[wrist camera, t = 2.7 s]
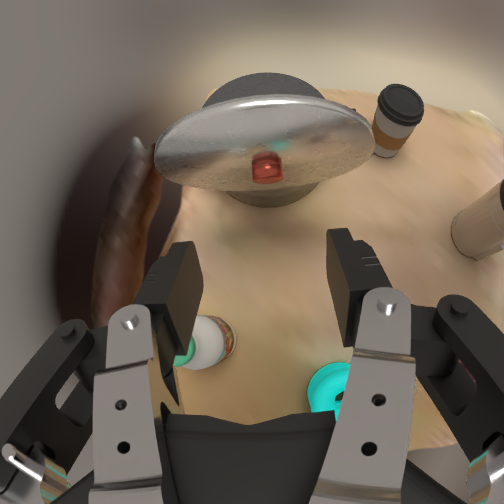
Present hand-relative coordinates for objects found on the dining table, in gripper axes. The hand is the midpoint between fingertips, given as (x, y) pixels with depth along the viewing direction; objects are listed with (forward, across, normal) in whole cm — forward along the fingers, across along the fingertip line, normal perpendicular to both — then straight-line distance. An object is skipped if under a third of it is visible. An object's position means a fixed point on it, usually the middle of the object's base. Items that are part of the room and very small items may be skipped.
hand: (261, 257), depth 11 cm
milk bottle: (+26, +12, +32) cm, 43 cm away
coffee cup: (+50, -23, +8) cm, 56 cm away
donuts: (+18, -8, +39) cm, 44 cm away
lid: (+23, 0, +1) cm, 23 cm away
